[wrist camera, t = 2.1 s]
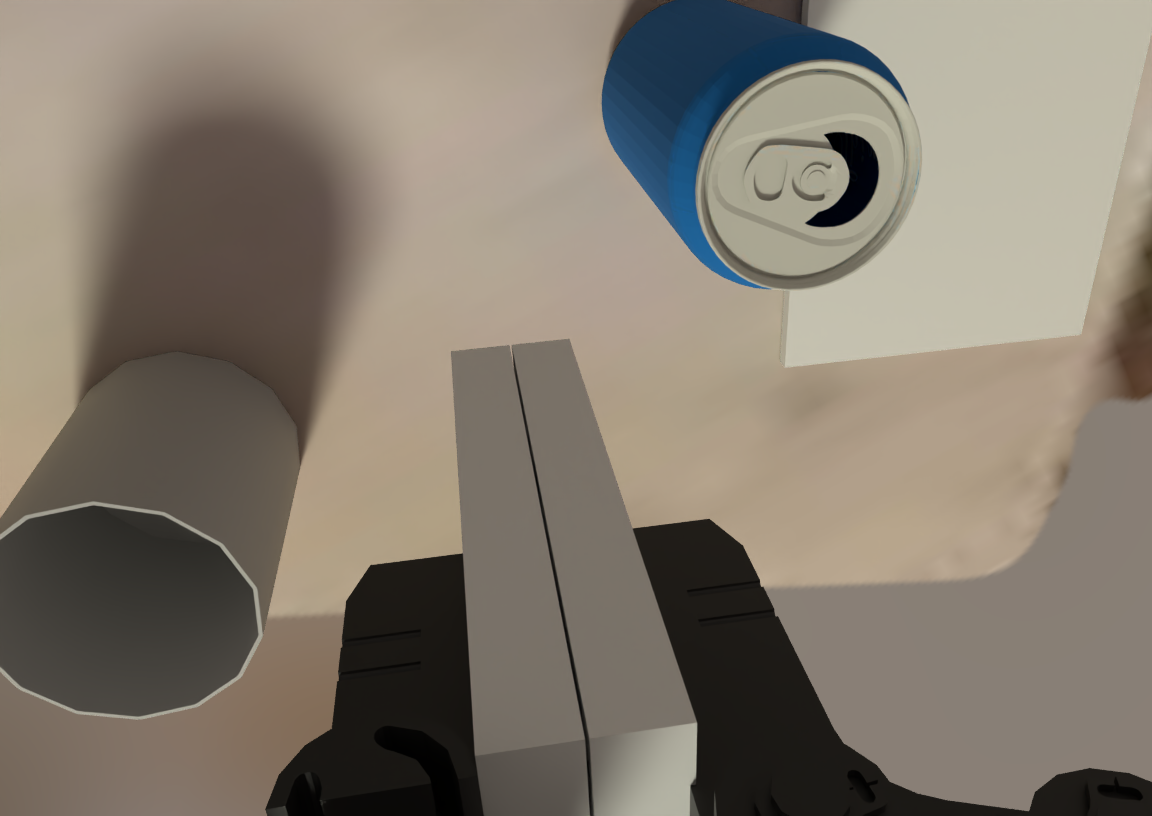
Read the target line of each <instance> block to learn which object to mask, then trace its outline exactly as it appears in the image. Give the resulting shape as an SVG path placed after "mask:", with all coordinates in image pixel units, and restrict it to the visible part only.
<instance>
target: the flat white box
mask: <svg viewBox="0 0 1152 816" xmlns="http://www.w3.org/2000/svg"><path fill="white" fill-rule="evenodd" d="M801 24H802V25H805V26H808V27H811V28H814V29H817V30H820V31H823V32H827V33H830V34H833V35H836V36H839V37H842V38H845V39H848V40H851V41H853V42H855V43H857V44H859V45H861V46H862V47H864V48H866V49H867V50H869V51H870V52H871V53H873V54H874V55H875V56H877V57H878V58H879V59H880V60H881V61H882V62H883V63H884V64H885V65H886V66H887V67H888V68H889V69H890V71H891V72H892V73H893V75H894V76H895V78H896V79H897V81H898V82H899V83H900V85H901V87H902V89H903V91H904V93H905V95H906V97H907V100H908V103H909V106H910V109H911V111H912V113H913V115H914V117H915V120H916V123H917V126H918V129H919V134H920V139H921V145H922V167H921V176H920V181H919V186H918V190H917V193H916V196H915V199H914V202H913V205H912V207H911V209H910V211H909V213H908V216H907V218H906V219H905V221H904V223H903V224H902V226H901V228H900V229H899V231H898V232H897V234H896V235H895V236H894V238H893V239H892V240H891V242H890V243H889V244H888V245H887V246H886V247H885V248H884V249H883V250H882V251H881V252H880V253H879V254H878V255H877V256H876V257H875V258H874V259H873V260H871V261H870V262H869V263H868V264H867V265H865V266H864V267H862V268H861V269H859V270H858V271H856V272H855V273H853V274H851V275H849V276H848V277H846V278H844V279H842V280H839V281H837V282H834V283H832V284H829V285H826V286H822V287H819V288H815V289H809V290H802V291H784V304H783V320H782V335H781V351H780V362H781V364H782V365H783V366H784V367H785V368H787V367H796V366H805V365H814V364H823V363H832V362H841V361H850V360H859V359H868V358H877V357H886V356H895V355H904V354H913V353H922V352H931V351H940V350H949V349H958V348H967V347H976V346H985V345H993V344H1002V343H1011V342H1020V341H1029V340H1038V339H1047V338H1056V337H1065V336H1074V335H1081V333H1082V328H1083V324H1084V320H1085V315H1086V311H1087V307H1088V303H1089V298H1090V294H1091V290H1092V286H1093V281H1094V277H1095V273H1096V269H1097V264H1098V260H1099V256H1100V252H1101V247H1102V243H1103V239H1104V234H1105V230H1106V226H1107V222H1108V217H1109V213H1110V209H1111V205H1112V200H1113V196H1114V192H1115V188H1116V183H1117V179H1118V175H1119V171H1120V166H1121V162H1122V158H1123V153H1124V149H1125V145H1126V141H1127V136H1128V132H1129V128H1130V124H1131V119H1132V115H1133V111H1134V107H1135V102H1136V98H1137V94H1138V90H1139V85H1140V81H1141V77H1142V72H1143V68H1144V64H1145V60H1146V55H1147V51H1148V47H1149V43H1150V38H1151V34H1152V0H803V3H802V19H801Z"/></svg>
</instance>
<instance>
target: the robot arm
mask: <svg viewBox="0 0 1152 816" xmlns="http://www.w3.org/2000/svg"><path fill="white" fill-rule="evenodd" d="M512 353H513V362H512V357H511V352H510V346H509V345H507V346H497V347H488V348H478V349H469V350H459V351H451V359H452V376H453V393H454V410H455V426H456V443H457V460H458V477H459V494H460V511H461V528H462V545H463V554H455V555H447V556H439V557H431V558H424V559H416V560H408V561H400V562H392V563H384V564H377V565H370V567H369V568H368V570H367V571H366V573H365V574H364V576H363V577H362V578H361V580H360V581H359V583H358V584H357V586H356V587H355V589H354V590H353V592H352V593H351V595H350V596H349V598H348V599H347V601H346V608H345V617H344V627H343V634H342V645H343V646H342V648H341V652H340V662H339V670H338V674H339V681H338V682H337V688H336V697H335V705H334V715H333V723H332V729H330V730H329V731H327V732H326V733H324V734H323V735H321V736H319V737H318V738H316V739H314V740H313V741H311V742H310V743H308V744H307V745H305V746H304V747H303V748H302V749H301V750H300V752H299V753H298V754H297V755H296V756H295V757H294V758H293V760H292V761H291V762H290V763H289V764H288V765H287V766H286V768H285V769H284V770H283V771H282V772H281V773H280V774H279V776H278V779H277V781H276V784H275V786H274V789H273V791H272V794H271V796H270V799H269V801H268V804H267V806H266V809H265V810H266V813H267V816H1152V782H1150V781H1148V780H1145V779H1142V778H1140V777H1137V776H1135V775H1132V774H1130V773H1123V772H1115V771H1107V770H1100V769H1092V768H1088V769H1083V770H1079V771H1074V772H1069V773H1063V774H1058V775H1056V776H1055V777H1054V778H1052V779H1051V780H1050V781H1049V782H1047V783H1046V784H1045V785H1044V786H1042V787H1041V788H1040V789H1038V790H1037V791H1036V792H1035V794H1034V797H1033V800H1032V804H1031V807H1030V810H1029V811H1022V810H1014V809H1007V808H1000V807H992V806H984V805H977V804H970V803H962V802H955V801H947V800H943V799H939V798H934V797H930V796H926V795H921V794H917V793H915V792H912V791H910V790H908V789H905V788H903V787H901V786H898V785H896V784H894V783H891V782H889V781H888V779H887V778H886V776H885V775H884V774H883V773H882V771H881V770H880V769H879V768H878V766H877V765H876V764H874V763H873V762H871V761H870V760H868V759H867V758H865V757H864V756H862V755H861V754H859V753H858V752H856V751H855V750H853V749H852V748H850V747H848V746H847V745H845V744H844V743H843V742H842V740H841V739H840V737H839V736H838V734H837V733H836V731H835V730H834V728H833V726H832V725H831V722H830V720H829V718H828V716H827V714H826V712H825V710H824V708H823V706H822V704H821V702H820V700H819V698H818V697H817V694H816V692H815V690H814V688H813V686H812V684H811V682H810V680H809V678H808V676H807V674H806V672H805V670H804V668H803V666H802V664H801V662H800V660H799V658H798V656H797V654H796V652H795V650H794V648H793V646H792V644H791V642H790V640H789V638H788V636H787V634H786V632H785V630H784V628H783V626H782V624H781V622H780V620H779V618H778V616H777V617H776V616H775V613H774V608H773V606H772V603H771V601H770V599H769V597H768V596H767V594H766V591H765V589H764V587H761V585H760V579H759V577H758V575H757V573H756V571H755V569H754V567H753V565H752V563H751V561H750V559H749V557H748V555H747V553H746V551H745V549H744V547H743V545H741V544H740V543H739V542H738V541H736V540H735V539H734V538H733V537H731V536H730V535H729V534H728V533H726V532H725V531H724V530H723V529H721V528H720V527H719V526H718V525H716V524H715V523H714V522H713V521H711V520H710V519H704V520H697V521H689V522H681V523H673V524H665V525H657V526H649V527H642V528H634V529H632V526H631V523H630V520H629V517H628V514H627V511H626V508H625V505H624V502H623V499H622V496H621V493H620V490H619V487H618V484H617V481H616V478H615V475H614V472H613V469H612V466H611V463H610V460H609V457H608V454H607V451H606V448H605V445H604V442H603V439H602V436H601V433H600V430H599V427H598V424H597V421H596V418H595V415H594V412H593V409H592V406H591V403H590V400H589V397H588V394H587V391H586V388H585V385H584V382H583V379H582V376H581V373H580V370H579V367H578V364H577V361H576V358H575V355H574V352H573V349H572V346H571V343H570V340H569V339H564V340H554V341H545V342H535V343H526V344H516V345H512ZM513 364H514V367H513Z"/></svg>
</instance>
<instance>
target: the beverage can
mask: <svg viewBox="0 0 1152 816" xmlns="http://www.w3.org/2000/svg"><path fill="white" fill-rule="evenodd" d="M602 114H603V120H604V125H605V129H606V132H607V135H608V138H609V140H610V142H611V144H612V146H613V148H614V150H615V152H616V153H617V155H618V156H619V158H620V159H621V160H622V162H623V163H624V164H625V166H626V167H627V168H628V170H629V171H630V172H631V173H632V175H633V176H634V177H635V179H636V180H637V181H638V183H639V184H640V185H641V186H642V188H643V189H644V190H645V192H646V193H647V194H648V196H649V197H650V198H651V200H652V201H653V202H654V203H655V205H656V206H657V207H658V209H659V210H660V211H661V213H662V214H663V215H664V216H665V218H666V219H667V220H668V222H669V223H670V224H671V226H672V227H673V228H674V229H675V231H676V232H677V233H678V235H679V236H680V237H681V239H682V240H683V241H684V243H685V244H686V245H687V246H688V248H689V249H690V250H691V252H692V253H693V254H694V255H695V256H696V257H697V258H698V259H699V260H700V261H701V262H702V263H703V264H704V265H706V266H707V267H708V268H709V269H711V270H712V271H714V272H715V273H717V274H719V275H720V276H722V277H724V278H726V279H728V280H731V281H733V282H736V283H738V284H741V285H745V286H749V287H753V288H762V289H774V290H783V291H802V290H809V289H815V288H819V287H822V286H826V285H829V284H832V283H834V282H837V281H839V280H842V279H844V278H846V277H848V276H849V275H851V274H853V273H855V272H856V271H858V270H859V269H861V268H862V267H864V266H865V265H867V264H868V263H869V262H870V261H871V260H873V259H874V258H875V257H876V256H877V255H878V254H879V253H880V252H881V251H882V250H883V249H884V248H885V247H886V246H887V245H888V244H889V243H890V242H891V240H892V239H893V238H894V236H895V235H896V234H897V232H898V231H899V229H900V228H901V226H902V224H903V223H904V221H905V219H906V218H907V216H908V213H909V211H910V209H911V207H912V205H913V202H914V199H915V196H916V193H917V190H918V186H919V181H920V176H921V167H922V145H921V139H920V134H919V129H918V126H917V123H916V120H915V117H914V115H913V113H912V111H911V109H910V106H909V103H908V100H907V97H906V95H905V93H904V91H903V89H902V87H901V85H900V83H899V82H898V81H897V79H896V78H895V76H894V75H893V73H892V72H891V71H890V69H889V68H888V67H887V66H886V65H885V64H884V63H883V62H882V61H881V60H880V59H879V58H878V57H877V56H875V55H874V54H873V53H871V52H870V51H869V50H867V49H866V48H864V47H862V46H861V45H859V44H857V43H855V42H853V41H851V40H848V39H845V38H842V37H839V36H836V35H833V34H830V33H827V32H823V31H820V30H817V29H814V28H811V27H808V26H805V25H802V24H798V23H795V22H792V21H789V20H786V19H783V18H780V17H777V16H773V15H770V14H767V13H764V12H761V11H758V10H755V9H752V8H748V7H745V6H742V5H739V4H736V3H733V2H730V1H727V0H675V1H671V2H669V3H667V4H664V5H662V6H660V7H658V8H656V9H655V10H653V11H651V12H649V13H648V14H647V15H645V16H644V17H643V18H642V19H640V20H639V21H638V22H637V23H636V24H635V25H634V26H633V27H632V28H631V29H630V30H629V31H628V32H627V34H626V35H625V36H624V37H623V39H622V40H621V41H620V43H619V45H618V46H617V48H616V50H615V52H614V53H613V56H612V58H611V60H610V62H609V65H608V68H607V71H606V75H605V78H604V84H603V90H602Z"/></svg>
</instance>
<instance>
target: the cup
mask: <svg viewBox="0 0 1152 816" xmlns="http://www.w3.org/2000/svg"><path fill="white" fill-rule="evenodd" d="M299 470H300V458H299V446H298V434H297V426H296V425H295V423H294V421H293V420H292V418H291V417H290V415H289V414H288V412H287V411H286V409H285V408H284V406H283V405H282V403H281V402H280V400H279V399H278V397H277V396H276V394H275V393H274V391H273V390H272V388H270V387H268V386H267V385H265V384H264V383H262V382H260V381H259V380H257V379H256V378H254V377H253V376H251V375H249V374H248V373H246V372H245V371H243V370H242V369H240V368H238V367H237V366H235V365H234V364H232V363H231V362H229V361H224V360H219V359H214V358H209V357H204V356H198V355H193V354H188V353H183V352H178V351H175V352H170V353H165V354H160V355H155V356H150V357H145V358H140V359H135V360H130V361H126V362H125V363H123V364H122V365H121V366H119V367H118V368H117V369H115V370H114V371H113V372H112V373H110V374H109V375H108V376H106V377H105V378H104V379H102V380H101V381H100V382H99V383H97V384H96V385H95V386H93V387H92V388H91V389H90V390H89V391H88V392H87V394H86V395H85V397H84V398H83V400H82V401H81V402H80V404H79V405H78V407H77V408H76V410H75V411H74V413H73V414H72V416H71V417H70V418H69V420H68V421H67V423H66V424H65V426H64V427H63V429H62V430H61V431H60V433H59V434H58V436H57V437H56V439H55V440H54V442H53V443H52V445H51V446H50V447H49V449H48V450H47V452H46V453H45V455H44V456H43V458H42V459H41V460H40V462H39V463H38V465H37V466H36V468H35V469H34V471H33V472H32V473H31V475H30V476H29V478H28V479H27V481H26V482H25V484H24V485H23V487H22V488H21V489H20V491H19V492H18V494H17V495H16V497H15V498H14V500H13V501H12V502H11V504H10V505H9V507H8V508H7V510H6V511H5V513H4V514H3V515H2V517H1V518H0V672H1V673H2V674H3V675H4V676H5V677H6V678H7V679H8V680H9V681H11V683H12V684H13V685H14V686H16V687H17V688H18V689H19V690H22V691H24V692H26V693H29V694H31V695H33V696H36V697H38V698H41V699H43V700H45V701H48V702H50V703H52V704H55V705H57V706H59V707H62V708H64V709H67V710H69V711H71V712H73V713H76V714H85V715H96V716H106V717H117V718H127V719H138V720H140V719H145V718H149V717H154V716H158V715H163V714H167V713H172V712H176V711H181V710H186V709H190V708H195V707H198V706H199V705H201V704H203V703H204V702H205V701H207V700H209V699H210V698H211V697H213V696H214V695H216V694H217V693H219V692H220V691H222V690H223V689H225V688H226V687H228V686H229V685H231V684H232V683H234V682H235V681H237V680H238V679H240V678H241V677H242V675H243V673H244V671H245V669H246V667H247V665H248V664H249V662H250V659H251V658H252V656H253V654H254V652H255V650H256V648H257V646H258V644H259V642H260V640H261V638H262V636H263V632H264V629H265V624H266V620H267V615H268V611H269V606H270V602H271V597H272V592H273V588H274V583H275V579H276V574H277V570H278V565H279V561H280V556H281V552H282V547H283V543H284V538H285V534H286V529H287V525H288V520H289V516H290V511H291V507H292V502H293V498H294V493H295V488H296V484H297V479H298V475H299Z"/></svg>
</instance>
